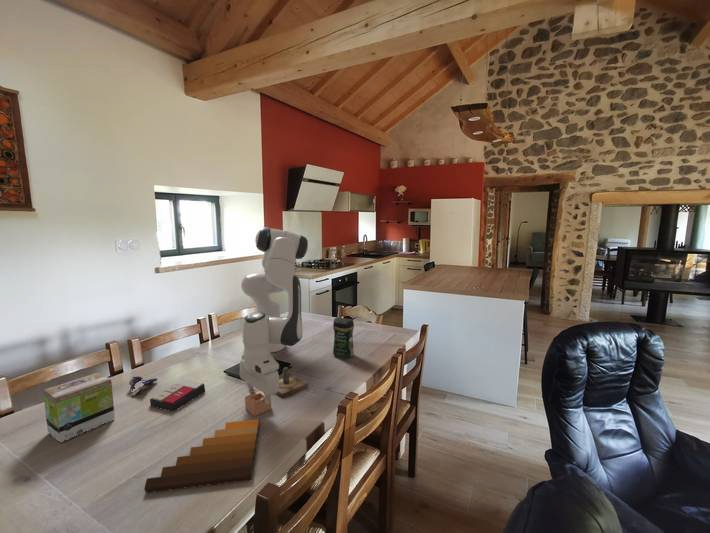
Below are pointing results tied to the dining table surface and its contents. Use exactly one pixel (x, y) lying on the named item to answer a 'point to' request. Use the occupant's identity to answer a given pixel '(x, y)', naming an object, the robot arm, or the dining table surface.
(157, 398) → the black and red box
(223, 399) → the dining table surface
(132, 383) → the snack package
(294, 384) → the post stand
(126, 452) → the dining table surface
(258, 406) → the collar
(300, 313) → the robot arm
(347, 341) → the coffee jar
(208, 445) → the pan flute
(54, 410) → the tea box
